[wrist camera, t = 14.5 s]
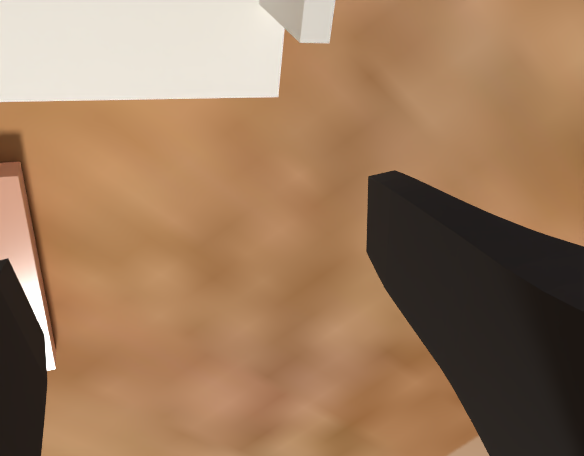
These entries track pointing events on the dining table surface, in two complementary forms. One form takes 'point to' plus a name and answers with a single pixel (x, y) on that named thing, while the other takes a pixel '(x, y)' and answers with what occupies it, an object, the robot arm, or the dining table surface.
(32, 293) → the salmon pink tile
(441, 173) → the dining table surface
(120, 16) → the puzzle board
